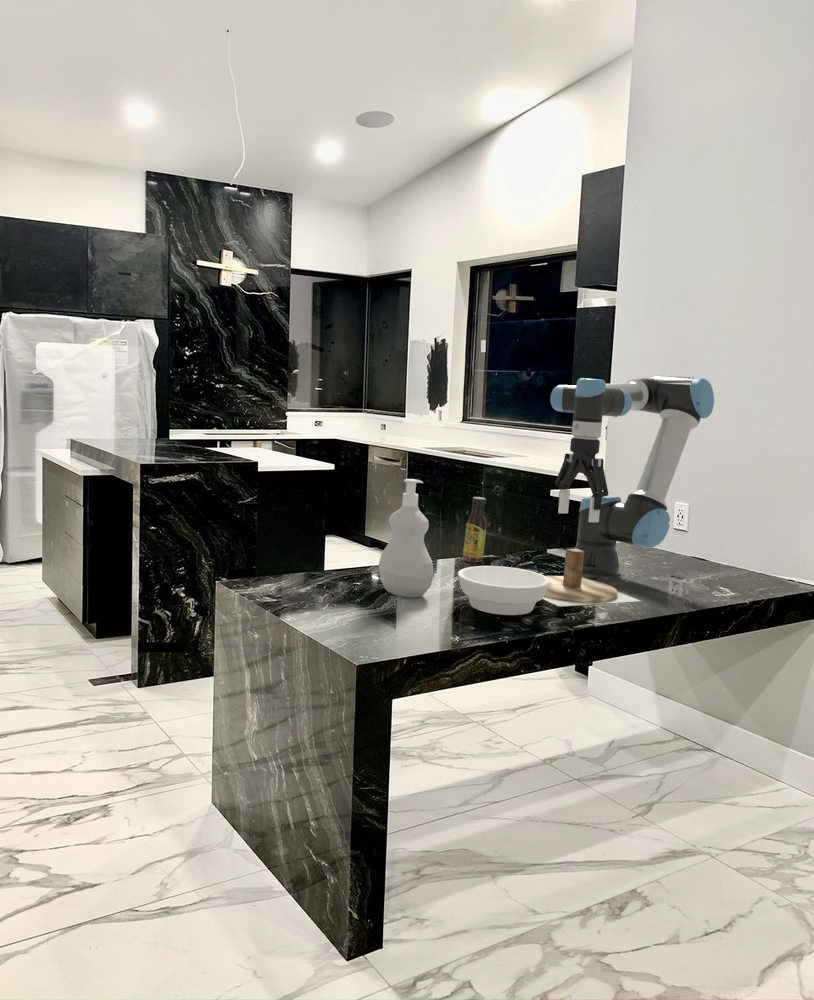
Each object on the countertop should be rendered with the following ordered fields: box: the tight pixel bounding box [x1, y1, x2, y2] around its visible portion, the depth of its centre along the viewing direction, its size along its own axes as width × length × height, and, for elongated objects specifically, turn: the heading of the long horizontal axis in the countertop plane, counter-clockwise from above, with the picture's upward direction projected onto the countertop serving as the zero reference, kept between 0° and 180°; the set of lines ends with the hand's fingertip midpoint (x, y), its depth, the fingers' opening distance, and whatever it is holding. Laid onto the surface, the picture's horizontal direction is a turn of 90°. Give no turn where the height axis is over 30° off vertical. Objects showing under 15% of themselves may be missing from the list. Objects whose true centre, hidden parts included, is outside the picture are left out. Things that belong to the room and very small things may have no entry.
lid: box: [544, 548, 618, 603], centre depth 232 cm, size 24×24×11 cm
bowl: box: [457, 565, 550, 616], centre depth 211 cm, size 22×22×8 cm
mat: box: [542, 591, 641, 608], centre depth 232 cm, size 26×26×1 cm
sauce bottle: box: [462, 496, 488, 564], centre depth 263 cm, size 7×6×20 cm
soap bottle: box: [378, 478, 435, 598], centre depth 218 cm, size 17×12×29 cm
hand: (577, 517), depth 229 cm, fingers open, 13 cm apart
